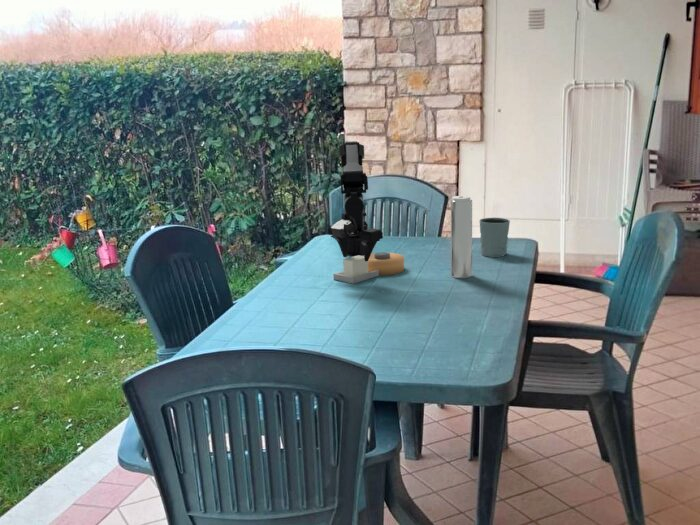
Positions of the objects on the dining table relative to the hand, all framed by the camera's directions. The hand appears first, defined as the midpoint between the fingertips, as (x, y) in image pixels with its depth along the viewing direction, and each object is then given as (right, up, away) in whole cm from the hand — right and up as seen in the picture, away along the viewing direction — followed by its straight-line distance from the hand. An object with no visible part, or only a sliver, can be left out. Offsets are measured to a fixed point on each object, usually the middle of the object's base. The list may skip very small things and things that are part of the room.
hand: (355, 259), depth 252 cm
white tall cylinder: (+33, -5, 0) cm, 34 cm away
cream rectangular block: (0, -6, +2) cm, 6 cm away
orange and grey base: (+5, -4, +6) cm, 9 cm away
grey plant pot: (+48, +2, +26) cm, 55 cm away
